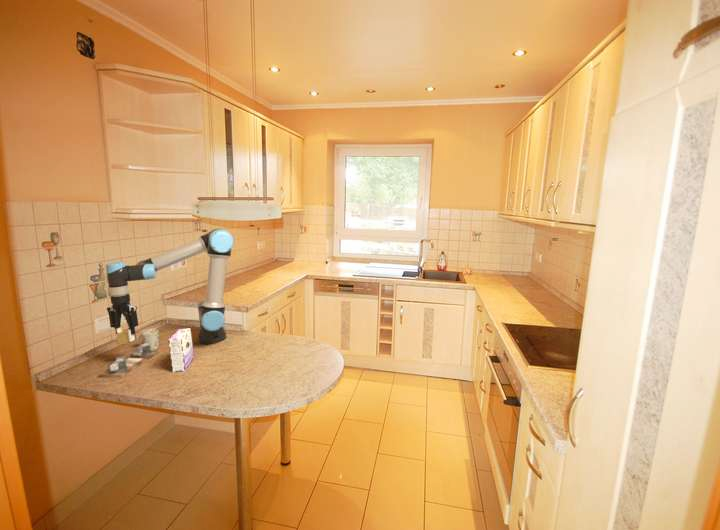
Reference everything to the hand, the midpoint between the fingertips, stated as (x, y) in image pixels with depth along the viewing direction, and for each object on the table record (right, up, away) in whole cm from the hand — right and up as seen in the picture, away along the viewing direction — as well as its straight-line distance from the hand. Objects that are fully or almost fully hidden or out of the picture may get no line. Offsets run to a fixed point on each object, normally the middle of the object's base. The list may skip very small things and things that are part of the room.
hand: (126, 340), depth 165 cm
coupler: (0, 0, 0) cm, 0 cm away
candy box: (+28, -12, -1) cm, 31 cm away
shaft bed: (0, -12, +2) cm, 12 cm away
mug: (-3, -9, +21) cm, 23 cm away
